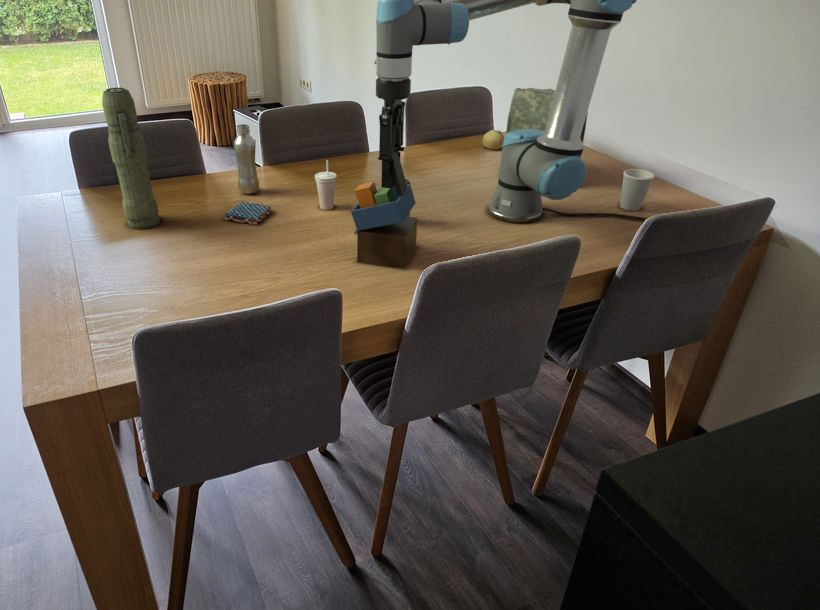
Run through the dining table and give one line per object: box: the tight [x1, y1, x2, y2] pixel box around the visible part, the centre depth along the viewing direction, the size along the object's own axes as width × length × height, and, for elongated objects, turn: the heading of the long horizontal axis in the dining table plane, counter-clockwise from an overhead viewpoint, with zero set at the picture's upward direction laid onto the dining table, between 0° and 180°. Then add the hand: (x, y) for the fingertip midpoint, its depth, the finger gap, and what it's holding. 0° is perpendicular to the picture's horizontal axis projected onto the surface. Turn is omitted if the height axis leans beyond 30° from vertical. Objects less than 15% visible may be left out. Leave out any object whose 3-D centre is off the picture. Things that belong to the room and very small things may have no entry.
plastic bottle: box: [233, 123, 260, 195], centre depth 184 cm, size 6×7×20 cm
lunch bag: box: [505, 87, 589, 144], centre depth 194 cm, size 22×16×27 cm
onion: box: [482, 128, 505, 151], centre depth 224 cm, size 8×8×7 cm
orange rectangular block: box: [354, 181, 378, 209], centre depth 148 cm, size 4×4×8 cm
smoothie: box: [314, 159, 338, 211], centre depth 176 cm, size 6×6×14 cm
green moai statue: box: [101, 87, 161, 230], centre depth 161 cm, size 9×12×35 cm
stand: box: [353, 216, 419, 270], centre depth 152 cm, size 12×14×8 cm
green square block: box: [374, 187, 397, 205], centre depth 147 cm, size 3×6×6 cm, turn 161°
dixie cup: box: [619, 168, 656, 212], centre depth 177 cm, size 8×8×10 cm
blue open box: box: [350, 152, 416, 231], centre depth 146 cm, size 12×12×14 cm
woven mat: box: [224, 200, 273, 226], centre depth 174 cm, size 10×11×2 cm
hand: (390, 183), depth 144 cm, fingers closed on blue open box, 5 cm apart
